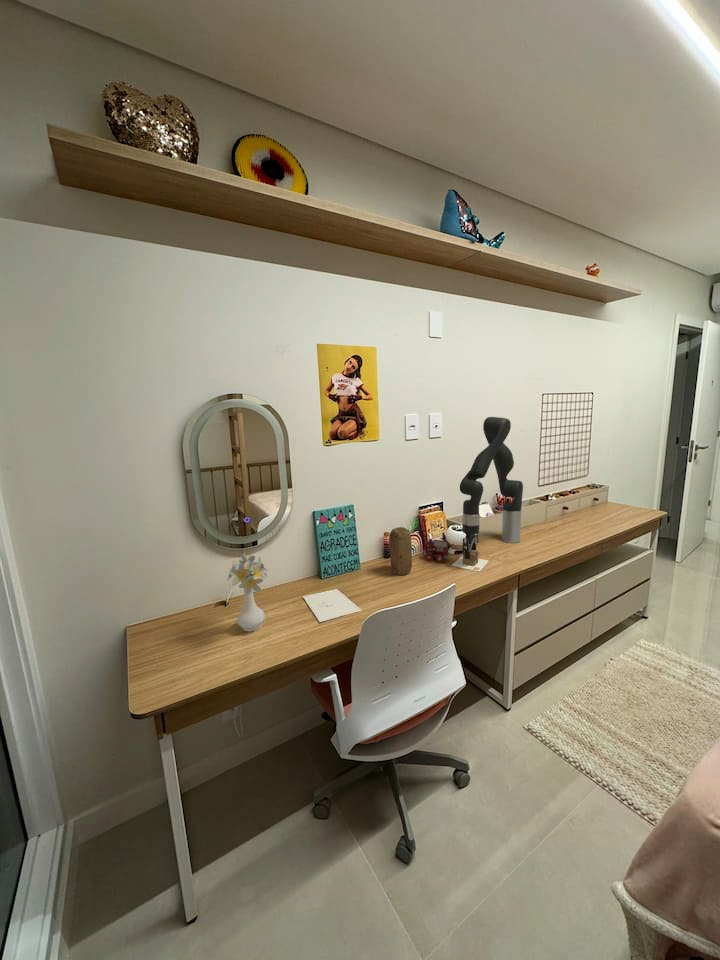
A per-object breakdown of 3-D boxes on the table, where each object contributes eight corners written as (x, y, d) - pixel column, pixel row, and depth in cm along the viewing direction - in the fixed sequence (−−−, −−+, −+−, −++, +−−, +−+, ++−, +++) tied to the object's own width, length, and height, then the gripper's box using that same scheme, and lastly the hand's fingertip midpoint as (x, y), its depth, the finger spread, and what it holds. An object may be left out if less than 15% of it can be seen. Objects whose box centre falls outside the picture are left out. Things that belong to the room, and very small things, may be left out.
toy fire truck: (425, 555, 187) (425, 535, 185) (450, 558, 181) (450, 538, 179) (421, 560, 180) (421, 539, 179) (446, 564, 175) (446, 543, 173)
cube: (466, 559, 178) (466, 548, 177) (478, 562, 175) (478, 551, 174) (462, 563, 173) (462, 552, 172) (474, 566, 170) (474, 554, 169)
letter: (462, 555, 183) (462, 555, 183) (488, 561, 176) (488, 560, 176) (451, 565, 172) (451, 565, 172) (479, 571, 165) (479, 571, 165)
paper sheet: (301, 595, 151) (301, 593, 151) (367, 584, 161) (367, 581, 160) (315, 625, 129) (315, 622, 129) (390, 609, 139) (390, 607, 139)
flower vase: (244, 647, 118) (236, 574, 113) (227, 622, 132) (219, 556, 128) (282, 632, 125) (276, 562, 121) (261, 610, 140) (255, 547, 135)
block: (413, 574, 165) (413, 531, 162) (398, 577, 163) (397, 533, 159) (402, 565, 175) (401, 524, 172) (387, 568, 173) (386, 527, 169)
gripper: (473, 528, 163) (473, 562, 166) (483, 519, 174) (483, 552, 177) (457, 525, 167) (457, 559, 170) (468, 517, 178) (468, 549, 181)
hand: (470, 555), depth 174 cm, fingers open, 8 cm apart
